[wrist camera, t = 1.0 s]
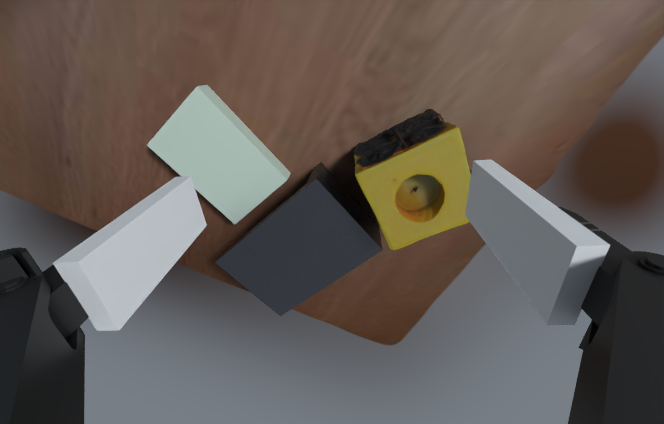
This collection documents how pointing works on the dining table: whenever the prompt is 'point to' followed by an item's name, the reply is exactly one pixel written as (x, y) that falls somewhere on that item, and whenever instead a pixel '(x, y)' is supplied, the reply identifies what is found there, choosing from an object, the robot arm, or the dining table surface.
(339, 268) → the riser
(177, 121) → the mint green panel
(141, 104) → the dining table surface
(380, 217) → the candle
